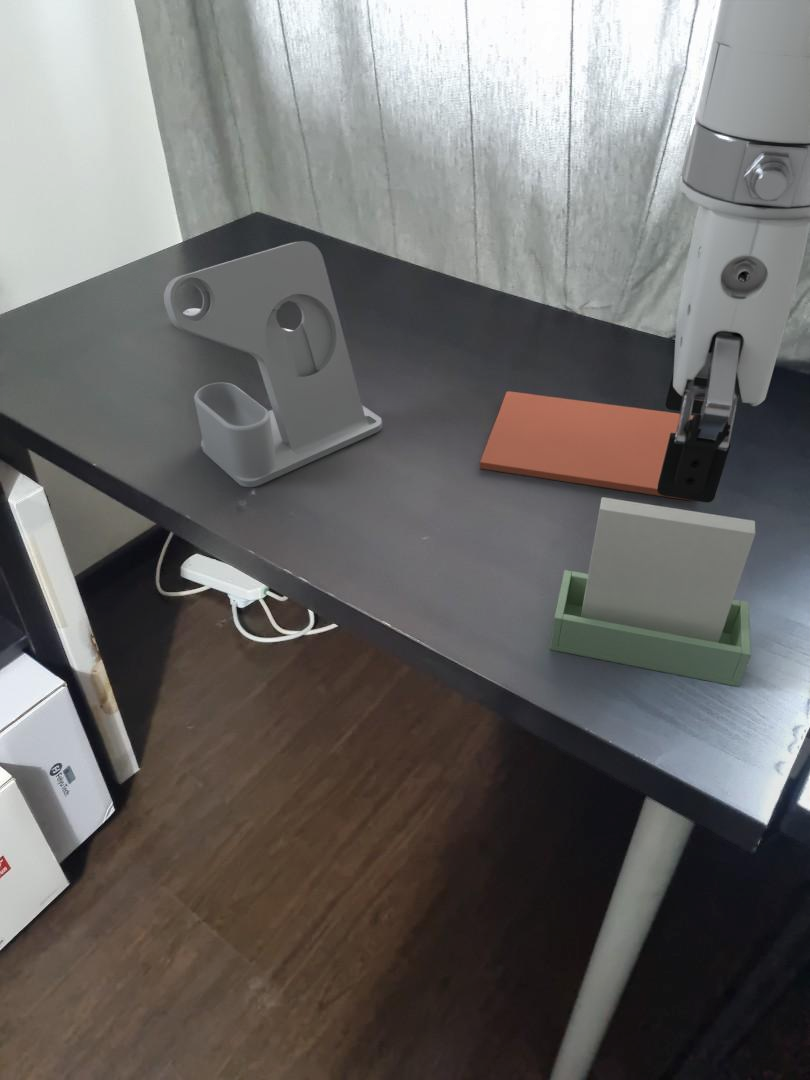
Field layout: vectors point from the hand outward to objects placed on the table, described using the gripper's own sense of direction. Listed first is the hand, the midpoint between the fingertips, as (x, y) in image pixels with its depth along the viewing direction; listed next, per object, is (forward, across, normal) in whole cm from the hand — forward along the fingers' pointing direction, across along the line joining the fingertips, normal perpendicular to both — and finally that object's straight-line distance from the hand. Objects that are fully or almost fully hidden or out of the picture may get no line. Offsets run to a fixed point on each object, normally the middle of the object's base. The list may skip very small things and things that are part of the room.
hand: (686, 450), depth 52 cm
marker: (+19, +40, +51) cm, 67 cm away
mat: (+18, +26, +6) cm, 32 cm away
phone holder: (+18, +19, +36) cm, 45 cm away
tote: (+18, 0, -1) cm, 18 cm away
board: (+17, 0, -1) cm, 17 cm away
